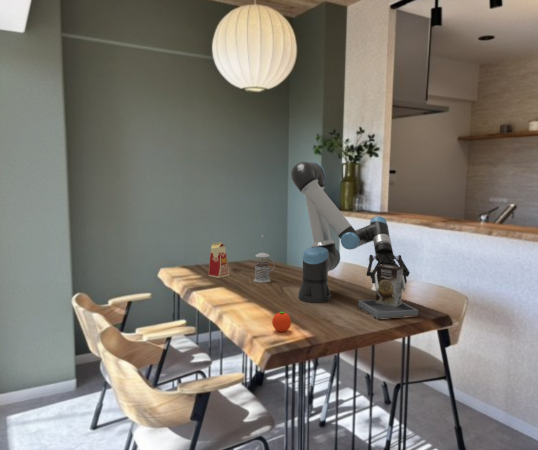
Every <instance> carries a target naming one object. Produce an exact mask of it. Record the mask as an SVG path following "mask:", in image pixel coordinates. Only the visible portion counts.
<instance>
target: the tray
mask: <svg viewBox="0 0 538 450" xmlns="http://www.w3.org/2000/svg"><path fill="white" fill-rule="evenodd" d="M357 307H358V308H359V307H360V308H361V309H360V308H359V309H360V310H362V309H363V310H364V311H363V310H362V311H363V312H365V311H366V312H368V313H369V314H371V315H373V316H374V317H376V318H377V319H381V318H393V317H404V316H413V315H418V316H419V309H417V308H416V307H413V306H411V305H409V304H407V303H405V302H403V301H401V305H399V306H396V307H392V306H387V305H383V304H378V303H376V298H375V299H361V300H360V299H359V300H357ZM366 312H365V313H366ZM368 313H367V314H368ZM369 314H368V315H369ZM371 315H370V316H371ZM374 317H373V318H374ZM377 319H376V320H377Z"/></svg>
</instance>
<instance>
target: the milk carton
mask: <svg viewBox="0 0 538 450" xmlns="http://www.w3.org/2000/svg"><path fill="white" fill-rule="evenodd" d="M209 254H210V255H209V266H208V277H211V278H212V277H213V278H217V279H221V278H224V277H228V276H230V267H229V260H228V257H227V250H226V246H225V245H224V243H223V241H219V242H211V247H210V253H209Z"/></svg>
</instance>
